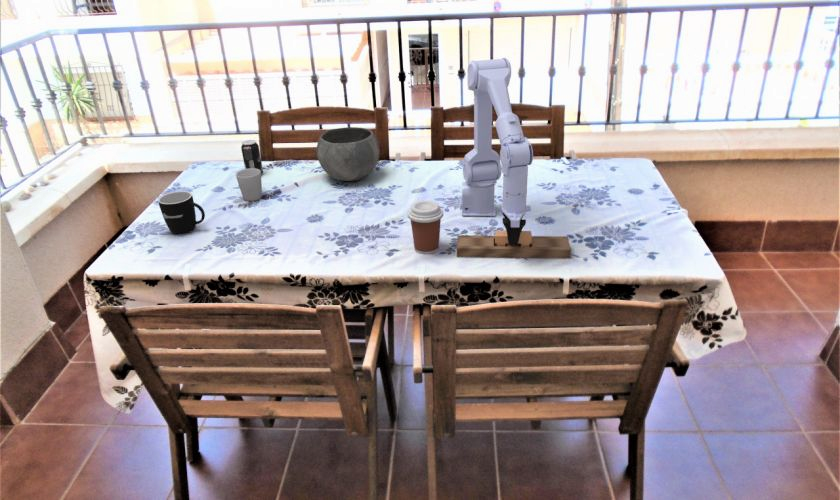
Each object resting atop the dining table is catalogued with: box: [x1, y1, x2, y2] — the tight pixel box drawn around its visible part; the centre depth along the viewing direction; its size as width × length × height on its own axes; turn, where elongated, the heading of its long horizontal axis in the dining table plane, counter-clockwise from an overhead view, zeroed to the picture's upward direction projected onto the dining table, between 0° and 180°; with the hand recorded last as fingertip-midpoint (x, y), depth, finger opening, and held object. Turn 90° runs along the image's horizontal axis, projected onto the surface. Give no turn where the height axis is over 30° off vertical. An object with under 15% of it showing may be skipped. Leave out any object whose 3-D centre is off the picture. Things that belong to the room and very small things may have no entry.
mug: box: [158, 190, 206, 235], centre depth 168 cm, size 12×9×10 cm
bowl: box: [316, 126, 381, 182], centre depth 198 cm, size 20×20×15 cm
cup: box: [235, 168, 263, 202], centre depth 188 cm, size 8×10×8 cm
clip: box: [494, 230, 533, 247], centre depth 151 cm, size 9×3×5 cm, turn 84°
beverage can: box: [240, 139, 264, 175], centre depth 204 cm, size 6×6×12 cm
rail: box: [456, 234, 572, 259], centre depth 152 cm, size 28×7×2 cm, turn 84°
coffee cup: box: [407, 200, 444, 255], centre depth 152 cm, size 9×9×12 cm
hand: (512, 240), depth 151 cm, fingers closed on clip, 3 cm apart
